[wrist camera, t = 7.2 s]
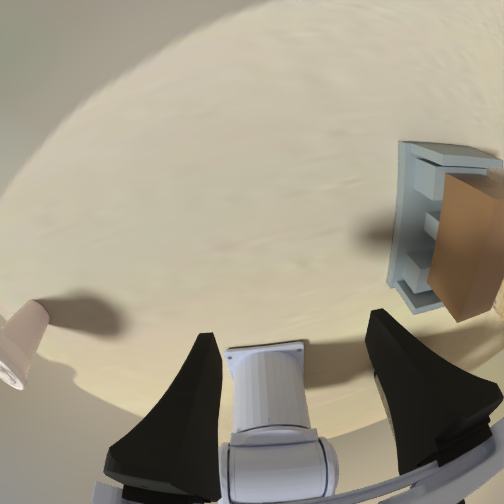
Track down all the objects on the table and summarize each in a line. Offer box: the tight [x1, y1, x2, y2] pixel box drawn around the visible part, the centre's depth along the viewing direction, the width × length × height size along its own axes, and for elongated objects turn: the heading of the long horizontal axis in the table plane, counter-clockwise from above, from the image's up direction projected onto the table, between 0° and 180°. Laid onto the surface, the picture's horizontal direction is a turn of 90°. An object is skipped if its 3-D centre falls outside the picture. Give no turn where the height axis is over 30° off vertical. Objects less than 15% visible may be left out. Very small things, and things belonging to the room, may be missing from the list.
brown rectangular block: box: [427, 173, 504, 323], centre depth 14 cm, size 9×4×5 cm, turn 7°
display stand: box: [386, 141, 503, 315], centre depth 17 cm, size 13×8×5 cm, turn 7°
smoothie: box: [0, 300, 50, 390], centre depth 18 cm, size 6×6×14 cm
